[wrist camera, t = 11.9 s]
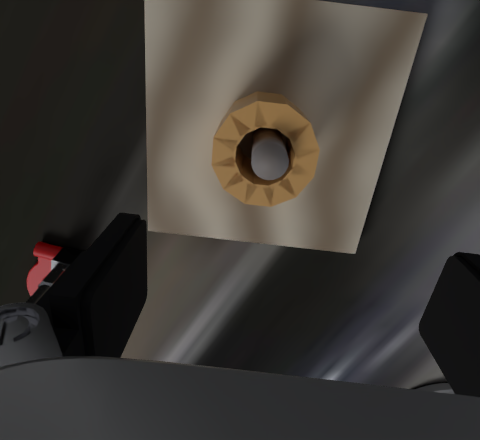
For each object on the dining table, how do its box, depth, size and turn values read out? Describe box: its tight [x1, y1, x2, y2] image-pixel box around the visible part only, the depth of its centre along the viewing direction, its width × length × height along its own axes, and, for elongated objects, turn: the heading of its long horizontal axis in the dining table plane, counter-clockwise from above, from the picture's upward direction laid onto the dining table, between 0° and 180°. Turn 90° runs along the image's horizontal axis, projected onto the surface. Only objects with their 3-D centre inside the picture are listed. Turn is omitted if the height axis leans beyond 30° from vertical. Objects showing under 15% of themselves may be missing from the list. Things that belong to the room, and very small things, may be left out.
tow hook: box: [26, 242, 83, 304], centre depth 29 cm, size 8×13×9 cm
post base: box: [145, 0, 428, 254], centre depth 24 cm, size 18×18×8 cm
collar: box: [211, 91, 320, 207], centre depth 23 cm, size 6×6×5 cm
